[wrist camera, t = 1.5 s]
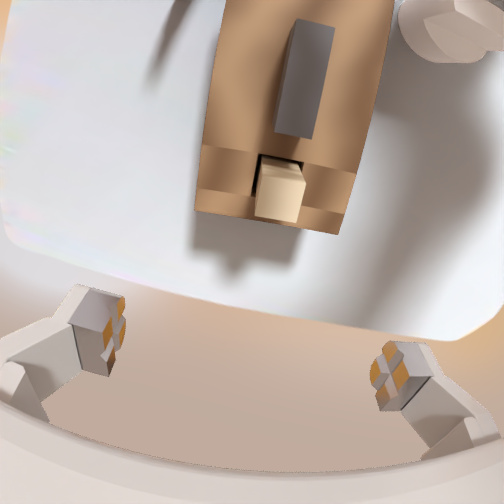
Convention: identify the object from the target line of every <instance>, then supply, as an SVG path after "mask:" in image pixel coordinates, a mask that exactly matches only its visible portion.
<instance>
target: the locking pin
mask: <svg viewBox="0 0 504 504" xmlns="http://www.w3.org/2000/svg"><path fill="white" fill-rule="evenodd" d="M305 186H306V182H305V180H304V177H303V175H302V173H301V170H300V168H299V166H298V163H297V161H296V160H291V159H286V158H281V157H276V156H270V155H265V154H261V156H260V161H259V166H258V172H257V181H256V199H255V216H258V217H264V218H270V219H276V220H281V221H287V222H293V223H296V222H297V218H298V214H299V210H300V206H301V202H302V198H303V194H304V190H305Z"/></svg>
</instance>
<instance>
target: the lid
mask: <svg viewBox="0 0 504 504" xmlns="http://www.w3.org/2000/svg"><path fill="white" fill-rule="evenodd" d="M394 1H395V0H226V4H225V9H224V14H223V19H222V24H221V29H220V34H219V39H218V44H217V50H216V55H215V61H214V67H213V73H212V79H211V85H210V91H209V98H208V104H207V111H206V118H205V125H204V132H203V140H202V147H201V155H200V163H199V172H198V180H197V189H196V199H195V209H194V210H195V211H201V212H208V213H214V214H220V215H227V216H233V217H239V218H245V219H251V220H257V221H263V222H269V223H275V224H280V225H286V226H292V227H297V228H303V229H308V230H314V231H319V232H325V233H330V234H335V235H338V233H339V230H340V227H341V224H342V221H343V218H344V214H345V211H346V208H347V205H348V201H349V198H350V195H351V191H352V188H353V184H354V181H355V177H356V174H357V170H358V167H359V163H360V160H361V156H362V152H363V148H364V145H365V141H366V137H367V133H368V129H369V125H370V121H371V117H372V113H373V109H374V104H375V100H376V96H377V91H378V87H379V82H380V78H381V73H382V68H383V63H384V58H385V53H386V48H387V43H388V37H389V32H390V26H391V20H392V14H393V8H394ZM258 153H259V154H265V155H270V156H276V157H281V158H286V159H291V160H296V161H301V162H302V163H301V168H300V170H301V173H302V175H303V177H304V180H305V182H306V186H305V190H304V194H303V198H302V202H301V206H300V210H299V214H298V218H297V222H296V223H293V222H287V221H281V220H276V219H270V218H264V217H258V216H255V199H256V193H255V192H251V190H252V184H253V179H254V173H255V168H256V163H257V157H258Z"/></svg>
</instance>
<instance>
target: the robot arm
mask: <svg viewBox="0 0 504 504" xmlns="http://www.w3.org/2000/svg"><path fill="white" fill-rule="evenodd" d="M124 308H125V298H124V297H123V296H121V295H117V294H113V293H109V292H106V291H102V290H99V289H95V288H90V287H87V286H84V285H80V284H76V285H74V286H73V287H72V289H71V290H70V292H69V293H68V294H67V296H66V297H65V299H64V300H63V301H62V303H61V304H60V306H59V307H58V308H57V310H56V311H55V313H54V314H53V316H52V317H51V318H49V317H45V318H43V319H41V320H39V321H36V322H34V323H32V324H30V325H28V326H26V327H24V328H21V329H19V330H17V331H15V332H13V333H11V334H9V335H6V336H4V337H2V338H0V504H504V438H501V436H500V433H499V431H498V429H497V427H496V425H495V422H494V420H493V418H492V416H491V414H490V412H489V411H488V410H487V409H485V408H484V407H483V406H482V405H480V403H478V402H477V401H476V400H475V399H474V398H472V397H471V396H470V395H469V394H468V393H467V392H465V391H464V390H463V389H462V388H460V386H458V385H457V384H456V383H454V382H453V381H452V380H451V379H450V378H449V377H445V376H444V374H443V372H442V370H441V368H440V366H439V364H438V362H437V360H436V358H435V357H434V355H433V353H432V351H431V349H430V347H429V346H428V345H427V344H426V343H419V342H401V341H389V342H387V343H386V344H385V345H384V347H383V348H382V352H383V354H382V355H380V356H379V357H377V358H376V359H375V361H374V363H373V364H372V365H371V370H370V380H371V384H372V386H373V387H375V388H376V389H377V393H376V395H375V396H376V399H377V403H378V406H379V409H380V411H401V412H400V413H401V414H402V415H403V416H404V418H405V419H406V420H407V421H408V422H409V424H410V425H411V426H412V427H413V428H414V430H415V431H416V432H417V433H418V434H419V436H420V437H421V438H422V439H423V440H424V442H425V443H426V444H427V445H428V447H429V448H430V449H429V450H428V451H427V452H426V453H424V454H423V455H422V457H421V461H416V462H410V463H405V464H398V465H392V466H385V467H377V468H368V469H358V470H346V471H329V472H268V471H251V470H238V469H229V468H220V467H212V466H204V465H198V464H192V463H185V462H180V461H174V460H169V459H164V458H159V457H155V456H151V455H146V454H142V453H138V452H134V451H130V450H126V449H123V448H119V447H116V446H112V445H109V444H105V443H102V442H99V441H96V440H93V439H90V438H87V437H83V436H81V435H78V434H75V433H73V432H70V431H67V430H64V429H62V428H59V427H57V426H54V425H52V424H50V423H49V418H48V416H47V414H46V412H45V411H44V408H43V407H42V405H41V403H40V402H42V401H43V400H44V399H46V398H47V397H48V396H50V395H51V394H52V393H54V392H55V391H56V390H58V389H59V388H60V387H61V386H63V385H64V384H66V383H67V382H68V381H70V380H71V379H72V378H74V377H75V376H77V375H78V374H79V373H80V372H82V370H85V371H88V372H92V373H95V374H99V375H103V376H107V377H109V375H110V373H111V370H112V368H113V365H114V363H115V360H116V359H115V352H116V351H117V350H119V349H120V348H121V345H122V343H123V339H124V335H125V327H126V319H125V318H124V316H123V315H122V313H123V311H124Z"/></svg>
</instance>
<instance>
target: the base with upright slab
mask: <svg viewBox="0 0 504 504" xmlns="http://www.w3.org/2000/svg"><path fill="white" fill-rule="evenodd" d="M398 24H399V28H400V31H401V34H402V36H403V38H404V39H405V41H406V43H407V44H408V45H409V47H410V48H411V49H412V50H413V51H414V52H415V53H416V54H418V55H419V56H420V57H422V58H424V59H426V60H427V61H431V62H435V63H474V62H477V61H479V60H480V59H481V58H483V57H484V56H485V54H486V52H487V51H504V11H503V10H501V9H500V8H498V7H497V6H495V5H494V4H492V3H491V2H489V1H487V0H404V1H403V3H402V5H401V6H400V9H399V13H398Z"/></svg>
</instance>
